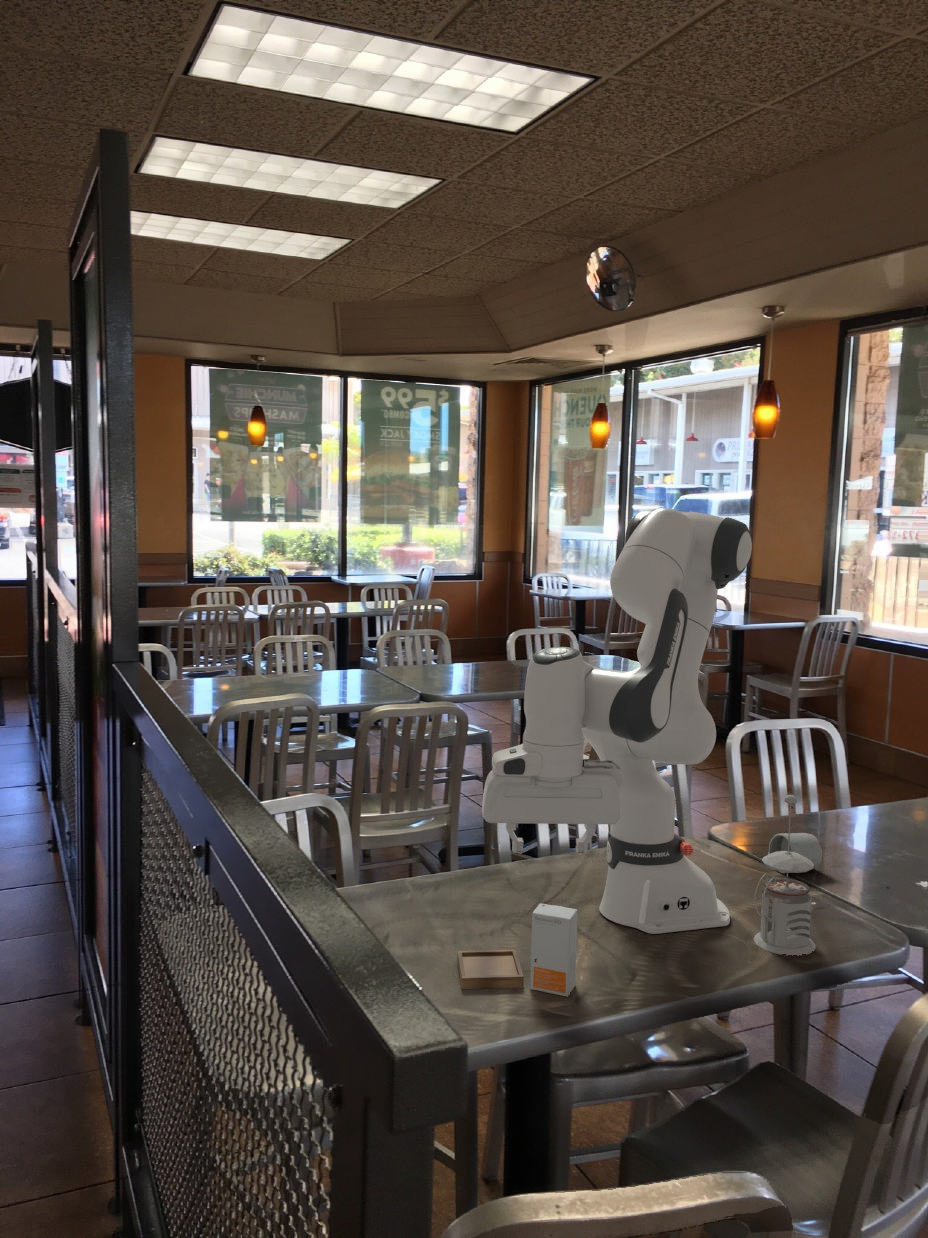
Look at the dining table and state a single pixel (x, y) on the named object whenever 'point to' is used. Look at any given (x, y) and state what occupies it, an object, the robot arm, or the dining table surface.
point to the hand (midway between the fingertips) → (549, 851)
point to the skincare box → (553, 949)
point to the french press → (786, 904)
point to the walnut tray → (490, 969)
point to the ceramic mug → (798, 846)
